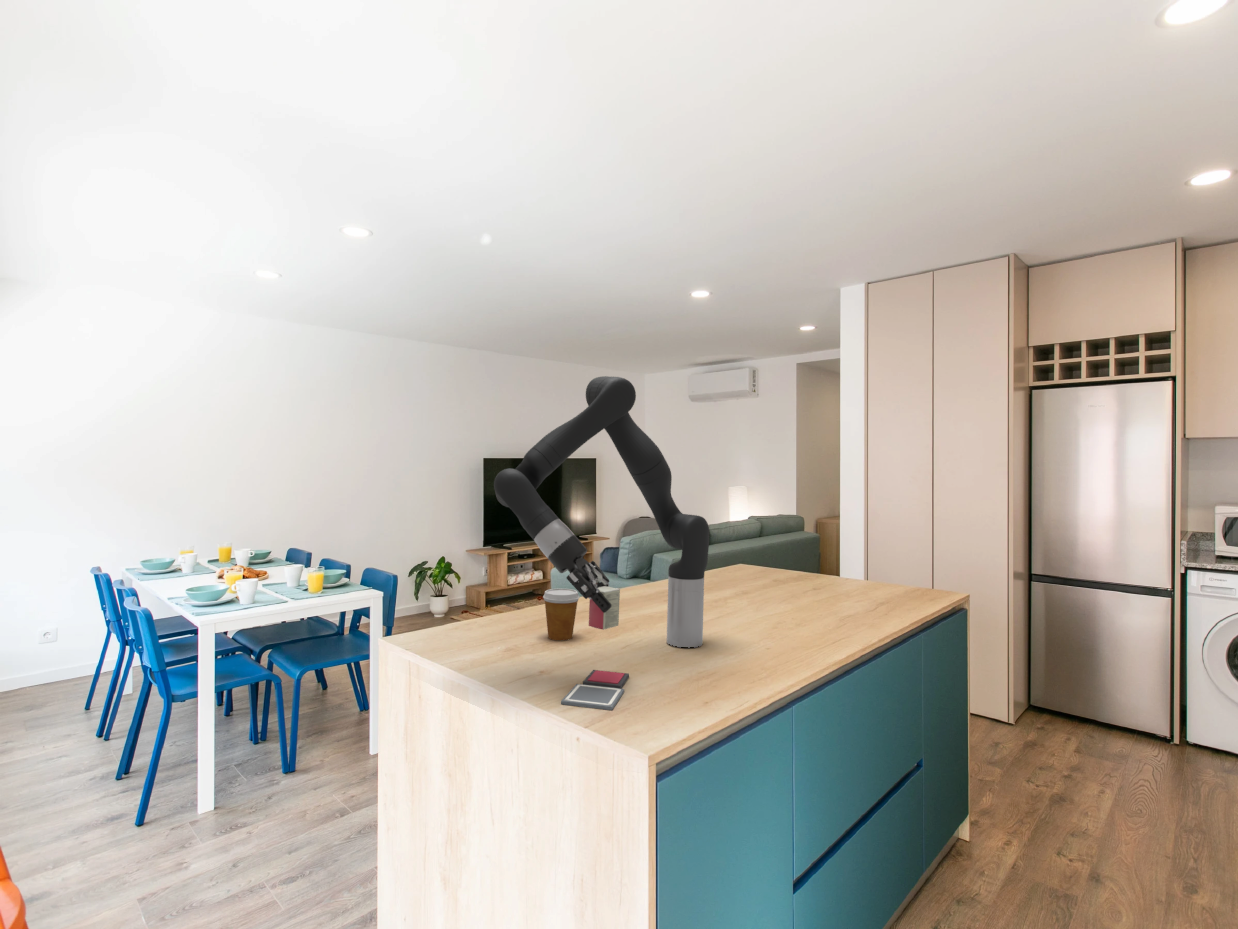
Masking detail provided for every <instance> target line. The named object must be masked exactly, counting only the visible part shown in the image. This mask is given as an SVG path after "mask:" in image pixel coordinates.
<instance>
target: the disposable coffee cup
mask: <svg viewBox="0 0 1238 929" xmlns="http://www.w3.org/2000/svg"><path fill="white" fill-rule="evenodd" d="M542 598H543V600H544V606H545V607H544V608H545V616H546V617H545V619H546V626H547V627H546V628H547V630H546V631H547V637H548V639H549V640H552V641H558V640H559V641H561V640H563V641H569V640H571V639H573V634H574V627H575V621H576V613H577V607H578V602H579V599H580V595H579V591H578V590H577V589H571V588H551V589H549V588H548V589H547V590H545V591H544V595H543V596H542ZM568 639H569V640H568ZM559 641H558V642H559ZM561 642H562V641H561Z"/></svg>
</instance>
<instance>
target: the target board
mask: <svg viewBox="0 0 1238 929" xmlns="http://www.w3.org/2000/svg"><path fill="white" fill-rule="evenodd" d="M624 693H625V688H621V689H620V688H611V687H602V686H593V685H584V684H583V683H582V684H581V683H576V684H575V685H574V686H572V688H571V689H570V690H569V692H568V693H567V694H566V695H565V696H564V697H563V698H562V699H561V700H560V705H565V706H574V707H579V708H580V707H581V708H589V709H598V710H607V711H613V710H614V708H615V707H616V705H617V704H618V702H619V701H620V699H621V697H622V696H623V695H624Z"/></svg>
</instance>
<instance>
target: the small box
mask: <svg viewBox="0 0 1238 929" xmlns="http://www.w3.org/2000/svg"><path fill="white" fill-rule="evenodd" d="M598 589H599V591H600V592H601V593H602V594H603V595H604V596H605V598H606V599H607V600H608V601H609V602H610V603H611V605H612V607H611V608H610V609H609V610H608V611H607V612H605V613H603V612H602V611H601V610H600V608H599V607H598V606H597V605H596V604H595V602H594V601H593V600H592V599H591V600H590V599H589V607H588V608H589V610H588V626H589V627H592V628H594V629H598V630H608V629H611V628H616V627H619V619H620V598H621V595H620V594H621V589H620V588H618V587H611V586H608V587H607V586H603V587H598ZM600 592H599V593H600Z"/></svg>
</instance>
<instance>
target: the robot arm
mask: <svg viewBox="0 0 1238 929" xmlns="http://www.w3.org/2000/svg"><path fill="white" fill-rule="evenodd" d="M636 397H637V393H636V389H635V387H634V385H633V383H632V382H631V381H630V380H628V379H626V378H623V377H620V376H607V375H606V376H598V377H595V378H593V379H592V380H590V381H589V383H588V384H587V386H586V388H585V400H586V404H587V407H586V408H585V409H584V410H582V411H581V412H579V413H578V414H577V415H576V416H574V417H572V419H570V420H568V421H566V422H564V423H563V424H561V425H560V426H558V427H556V428H555V429H553V430H551V431H550V432H548V433H547V434H545V435H544V436H543V437H542V438H541V439H540V440H539V441H538V442H537V443H536V444H535V445H533V446H532V447H531V448H530V449H529V450H528V451H527V452H526V453H525V455H524V456H523V458H522V461H521V462H520V463H519V464H518V466H517V467H515V468H504V469H502V470H500V471H499V472H498V473H497V475H496V476H495V478H494V480H493V490H494V492H495V496H496V500H497V501H498V502H499V503H500V504H501V505H502V506H504V507H505V508H509V509H510V510H511V511H512V512H513V514H514V515H515V516H516V517H517V519H518V521H519V523H520V525H521V527H522V528H523V529H524V530H525V531H526V533H527V534H528V535H529V537H531V539H532V540H533V541H534V543H535V544H536V545H537V547H538V548H539V550H540V551H541V552H542V553H543V555H544V556H545V557H546V558H547V560H549V562H550V563H551V564H552V566H554V567H555V569H556V570H557V572H559V573H560V574H564V573H565V572H567V571H568V572H569V574H568V575H567V576H566V580H567V581H568V582H569V583H570V584H571V585H572V586H573V587H574V589H575V590H576V591H578V594H580V595H581V596H582V597H583V598H584V599H585V600H587V599H589V601H590V600H591V599H592V600H593V601H594V602H595V604H596V605H597V606H598V607H599V608H600V610H601V611H602V612H603V613H605V612H607V611H608V610H609V609H610V608H611V607H612V605H611V603H610V602H609V601H608V600H607V599H606V598H605V596H604V595H603V594H602V593H601V592H600V591H599V589H598V587H603V586H607V587H610V579H609V578H608V577H607V576H606V575H605V573H604V572H603V571H602V570H601V568H600V567H599V566H598V565H597V563H596V561H594V560H591V561H590V562H589V561H588V560H586V559H585V558H584V556H585V555H586V554H587V552H588V549H587V547H586V546H585V545H584V543H582V541H581V540H580V539H579V538H578V537H577V536H576V534H574V532H573V531H572V530H571V529H570V528H569V527H568V525H566V524H565V523H564V522H563V521H562V520H561V519H560V518H559V517H558V516H557V514H555V512H554V511H553V510H552V509H551V507H550V506H549V505H547V503H546V502H545V501H544V500H543V499H542V498H541V496H540V494H539V492H537V489H538V488H539V487H540V485H541V484H542V483H543V482H544V480H545V479H546V478H547V477H548V476H550V475H551V474H552V473H553V472H554V471H555V470H556V469H557V468H559V467H560V466H561V465H562V464H563V463H564V462H565V461H566V460H567V459H568V458H569V457H570V456H571V455H573V453H575V452H576V451H577V450H578V449H580V448H581V447H582V446H583V445H584V444H586V443H587V442H588V441H589V440H591V439H592V438H593V437H594V436H595V437H596V435H597V434H599V433H600V432H601V431H603V430H604V431H605V432H606V433H607V435H608V437H610V439H611V441H612V443H613V445H614V447H615V448H616V450H617V452H618V454H619V456H620V458H621V460H622V461H623V463H624V465H625V466H626V468H627V471H628V472H629V474H630V476H631V477H632V479H633V481H634V482H635V484H636V486H637V487H638V489H639V491H640V492H641V494H642V497H643V498H644V500H645V501H646V503H647V505H648V507H649V509H650V510H651V512H652V515H653V517H654V519H655V522H656V524H657V526H658V528H659V531H660V533H661V536H662V538H663V539H664V541H665V542H666V543H667V545H668V546H669V547H671V548H673V549H677V550H682V551H681V556H680V560H678V561H677V562H674V563H671V564H670V565H669V566H668V572H667V573H668V578H667V612H666V613H667V620H666V621H667V622H666V644H668V645H669V644H670V645H669V646H672V645H673V646H672V647H675V646H677V647H676V648H681V647H688V648H687V649H691V648H690V647H694V648H699V647H701V646H703V636H704V635H703V634H704V600H705V599H704V596H705V591H704V590H705V573H706V569H707V566H708V561H709V549H710V526H709V524H708V521H707V519H706V518H704V517H703V516H700V515H697V514H689V513H688V514H687V513H683V512H682V511H681V510H680V509H679V508H678V506H677V505H676V504H677V503H676V502H675V500H674V499H673V497H672V470H671V468H670V466H669V463H668V462H667V460H666V458H665V456H664V454H663V453H662V451H661V449H660V448H659V446H658V445H657V444H656V443H655V442H654V441H653V440H652V438H651V437H650V436H648V435H647V433H646V432H644V431H643V429H641V428H640V426H639V425H638V424H636V422H635V421H634V419H633V418H632V416H631V415H630V411H631V410H632V409H633V407H634V405H635V402H636ZM599 592H600V593H599ZM698 646H699V647H698Z"/></svg>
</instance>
